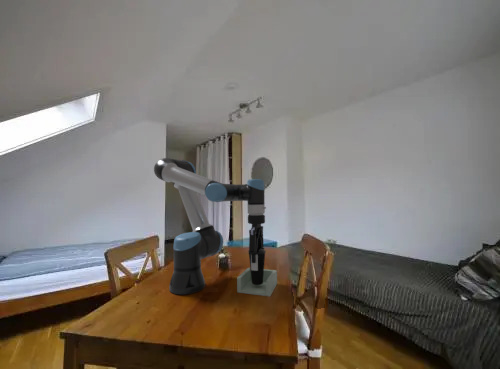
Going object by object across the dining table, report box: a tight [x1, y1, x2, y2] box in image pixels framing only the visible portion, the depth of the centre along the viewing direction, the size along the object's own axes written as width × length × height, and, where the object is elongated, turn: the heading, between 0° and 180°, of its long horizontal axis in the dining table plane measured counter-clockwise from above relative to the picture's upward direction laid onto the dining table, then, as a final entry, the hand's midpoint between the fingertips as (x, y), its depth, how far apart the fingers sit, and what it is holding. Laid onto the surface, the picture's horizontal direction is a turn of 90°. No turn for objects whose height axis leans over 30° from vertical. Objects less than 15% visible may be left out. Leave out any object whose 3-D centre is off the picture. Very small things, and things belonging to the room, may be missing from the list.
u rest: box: [236, 267, 278, 297], centre depth 101 cm, size 14×14×6 cm
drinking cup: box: [247, 245, 267, 285], centre depth 101 cm, size 8×8×20 cm
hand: (257, 267), depth 101 cm, fingers closed on drinking cup, 7 cm apart
